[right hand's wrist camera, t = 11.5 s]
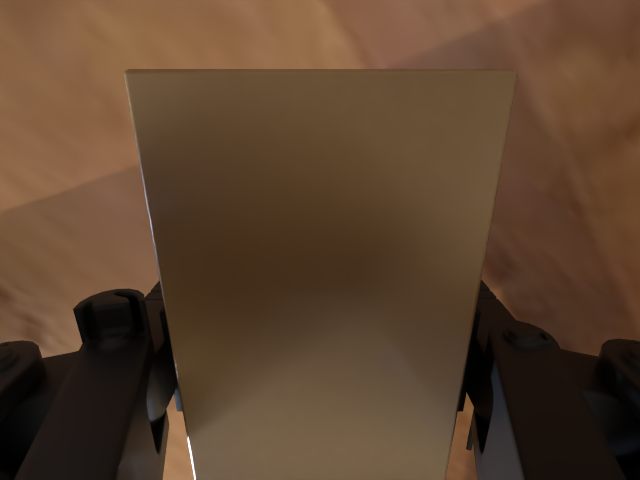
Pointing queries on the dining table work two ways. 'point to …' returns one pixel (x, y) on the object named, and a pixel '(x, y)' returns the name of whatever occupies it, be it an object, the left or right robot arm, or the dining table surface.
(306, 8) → the dining table surface
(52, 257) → the dining table surface
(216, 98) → the beam
